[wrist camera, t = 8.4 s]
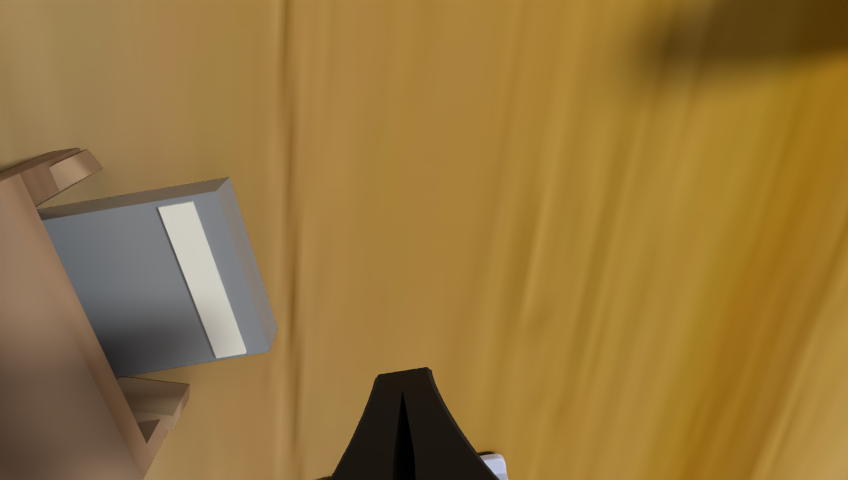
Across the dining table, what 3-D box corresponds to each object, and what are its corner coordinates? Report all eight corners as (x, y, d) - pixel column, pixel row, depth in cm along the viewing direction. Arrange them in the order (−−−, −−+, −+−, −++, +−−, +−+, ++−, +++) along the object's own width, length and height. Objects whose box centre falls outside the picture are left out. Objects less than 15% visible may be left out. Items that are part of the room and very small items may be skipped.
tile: (232, 173, 20) (214, 192, 18) (279, 322, 23) (269, 353, 21) (-44, 220, 20) (-95, 244, 18) (37, 363, 23) (1, 399, 21)
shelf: (93, 145, 19) (15, 180, 15) (195, 399, 24) (157, 477, 20) (-125, 178, 19) (-262, 222, 15) (22, 426, 24) (-52, 510, 20)
